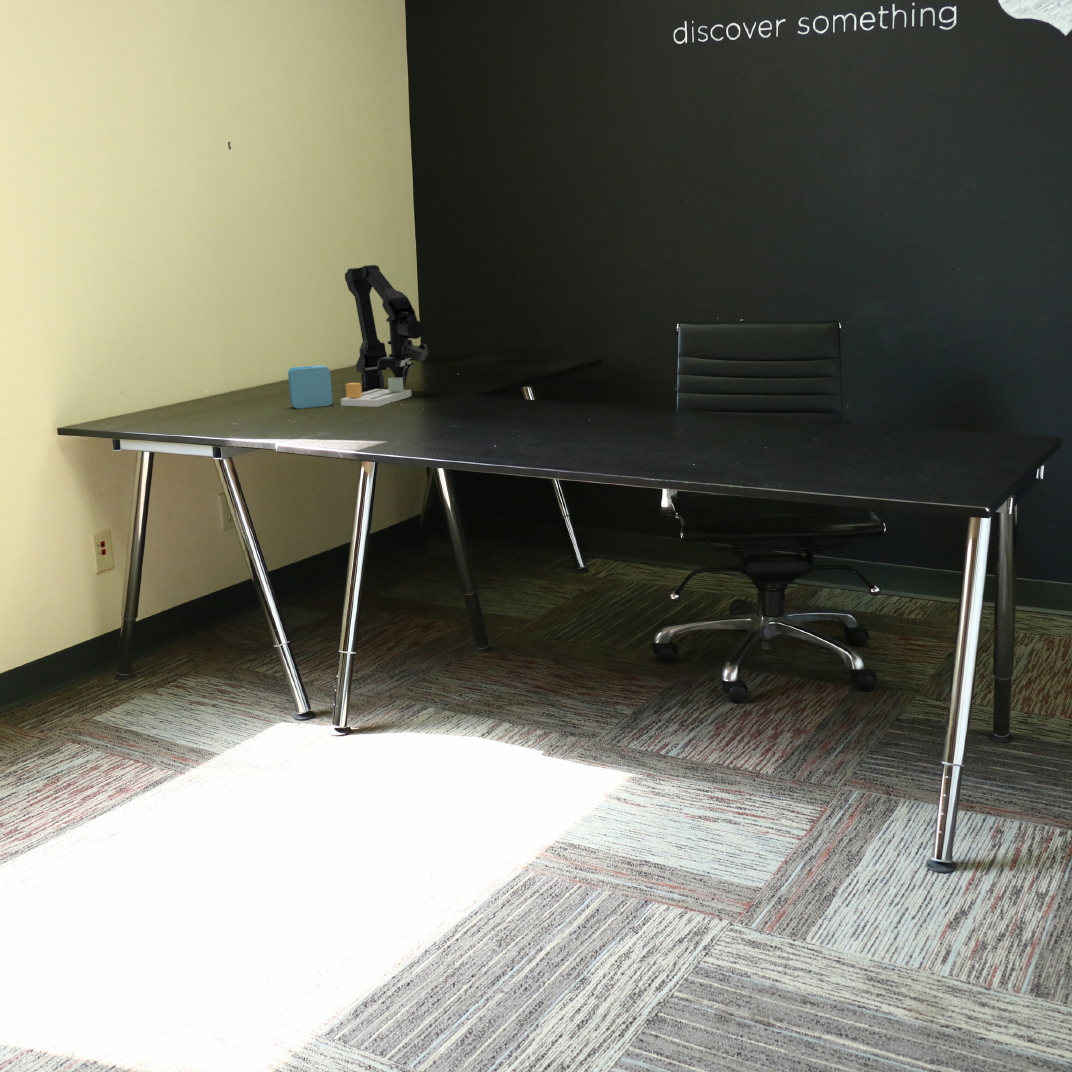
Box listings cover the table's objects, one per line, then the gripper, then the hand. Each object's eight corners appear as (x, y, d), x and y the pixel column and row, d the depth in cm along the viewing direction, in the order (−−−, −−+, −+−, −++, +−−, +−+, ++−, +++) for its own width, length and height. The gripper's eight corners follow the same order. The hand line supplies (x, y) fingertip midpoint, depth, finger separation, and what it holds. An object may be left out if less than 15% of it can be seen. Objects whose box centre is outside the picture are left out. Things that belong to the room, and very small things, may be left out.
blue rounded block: (330, 403, 361) (326, 364, 358) (333, 405, 357) (329, 366, 354) (291, 407, 357) (287, 367, 354) (293, 409, 353) (289, 369, 350)
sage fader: (388, 391, 365) (387, 378, 364) (393, 389, 368) (392, 377, 367) (398, 391, 364) (397, 378, 362) (403, 390, 366) (402, 377, 365)
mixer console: (341, 405, 356) (340, 398, 356) (376, 395, 374) (375, 388, 373) (377, 406, 351) (377, 399, 350) (411, 396, 368) (411, 389, 368)
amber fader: (346, 397, 357) (345, 384, 355) (352, 395, 359) (350, 382, 358) (356, 397, 355) (355, 384, 354) (362, 396, 358) (360, 383, 357)
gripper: (406, 340, 353) (410, 392, 358) (436, 333, 370) (439, 383, 374) (375, 340, 358) (379, 391, 362) (405, 333, 374) (409, 382, 378)
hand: (403, 386), depth 369 cm, fingers closed
